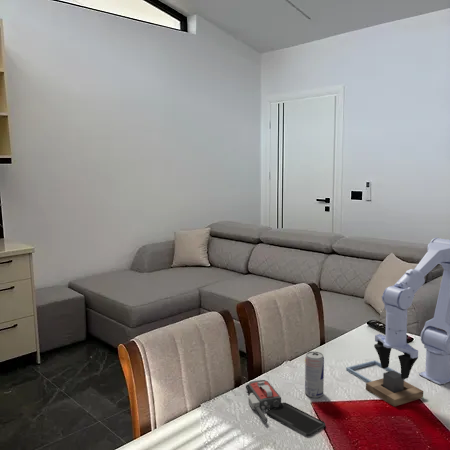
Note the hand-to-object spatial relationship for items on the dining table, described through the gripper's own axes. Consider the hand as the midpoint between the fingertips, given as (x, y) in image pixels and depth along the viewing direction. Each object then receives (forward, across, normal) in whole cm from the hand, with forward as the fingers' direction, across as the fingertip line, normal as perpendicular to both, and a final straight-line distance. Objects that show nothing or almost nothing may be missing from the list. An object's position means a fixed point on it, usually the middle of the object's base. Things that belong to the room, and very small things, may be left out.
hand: (394, 372), depth 132 cm
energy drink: (+7, -10, -21) cm, 24 cm away
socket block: (+6, 0, 0) cm, 6 cm away
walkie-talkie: (+7, -12, -37) cm, 40 cm away
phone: (+7, -1, -34) cm, 35 cm away
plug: (+6, 0, 0) cm, 7 cm away
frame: (+6, -12, +4) cm, 14 cm away
